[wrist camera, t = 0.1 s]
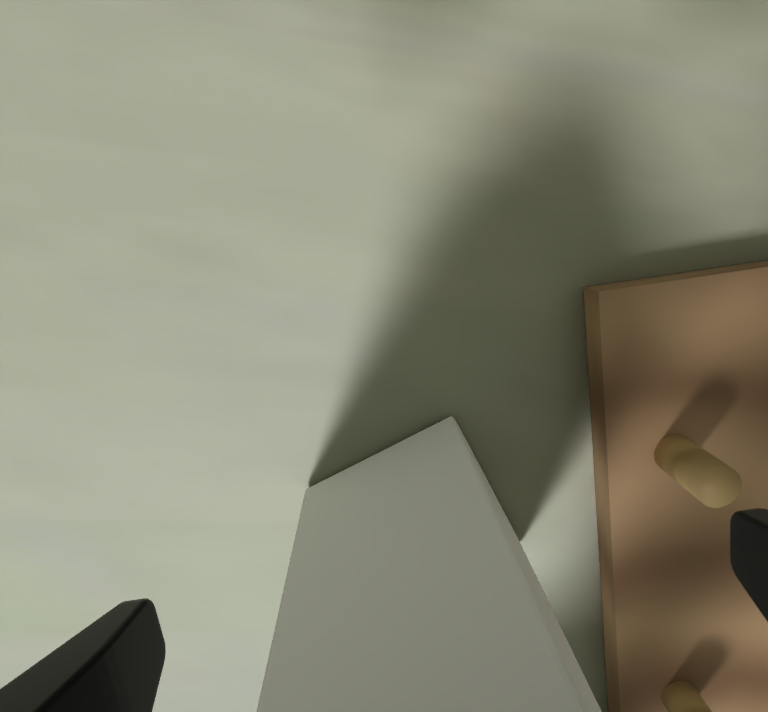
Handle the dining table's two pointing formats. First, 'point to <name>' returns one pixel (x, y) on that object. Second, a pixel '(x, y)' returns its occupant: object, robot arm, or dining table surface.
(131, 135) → the dining table surface
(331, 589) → the milk carton
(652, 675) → the tool rest
